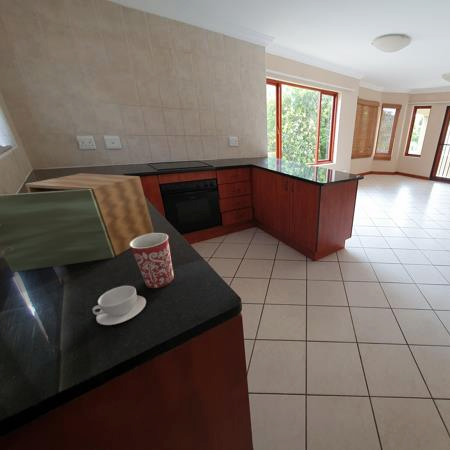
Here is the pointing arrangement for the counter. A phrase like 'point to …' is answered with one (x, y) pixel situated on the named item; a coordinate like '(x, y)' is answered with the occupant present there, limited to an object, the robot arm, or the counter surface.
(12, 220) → the door
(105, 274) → the counter surface
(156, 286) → the mug
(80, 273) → the counter surface
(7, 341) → the counter surface
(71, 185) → the cupboard
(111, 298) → the teacup
